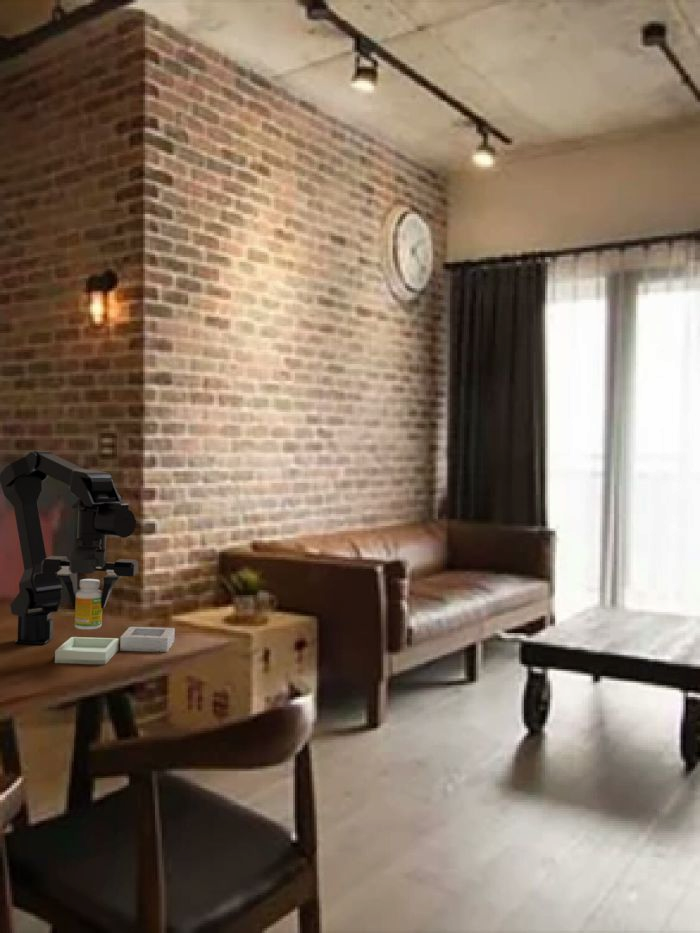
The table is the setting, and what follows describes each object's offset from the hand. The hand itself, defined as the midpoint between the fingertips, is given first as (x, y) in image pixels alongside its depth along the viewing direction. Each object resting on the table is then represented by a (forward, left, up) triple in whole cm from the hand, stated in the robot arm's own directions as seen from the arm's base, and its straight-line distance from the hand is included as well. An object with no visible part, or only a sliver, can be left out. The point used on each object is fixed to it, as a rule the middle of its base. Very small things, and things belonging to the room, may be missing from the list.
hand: (88, 607), depth 180 cm
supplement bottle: (0, 0, -4) cm, 4 cm away
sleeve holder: (+11, +10, -10) cm, 18 cm away
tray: (0, 0, -10) cm, 10 cm away
